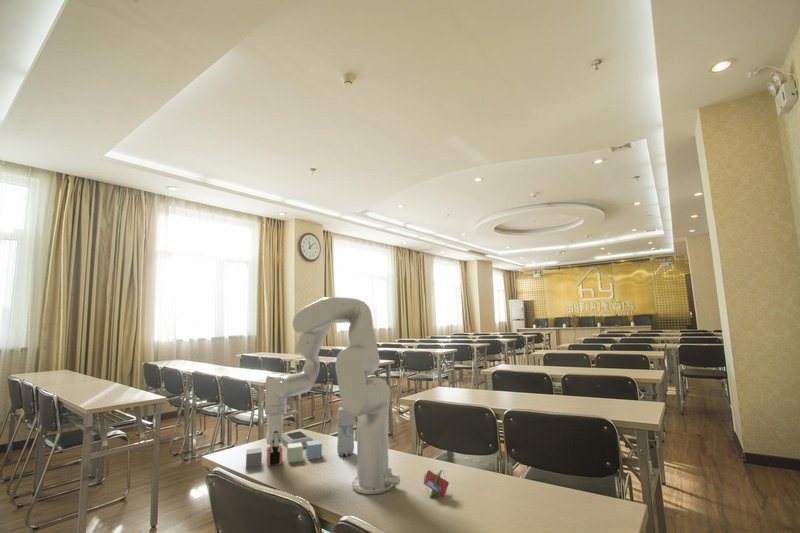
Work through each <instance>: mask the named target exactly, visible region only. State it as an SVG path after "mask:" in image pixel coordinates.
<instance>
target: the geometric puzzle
mask: <svg viewBox="0 0 800 533" xmlns="http://www.w3.org/2000/svg"><path fill="white" fill-rule="evenodd" d="M442 473H443V476H444V478H442V477H441V475H442ZM423 475H424V476H423V477H424V478H423V484H424V486H425V487H426V491H427V493H428V497H430V496H431V495H432V496H431V497H434V495H436V494H439V493H440V494H439V495H441V496H442V495H443V496H442V497H444V496H446V494H447V490H448V487H449V484H450V482H449V481H448V480H447V478H446V477H445V476H446V475H445V473H444V470H443V469H440V470H439V471H438V472H437V473H435V472H433V471H432V470H429V469H428V470H427V471H426V473H425V474H423ZM427 487H428V488H430V489H431V490H432V491H431V493H429V490H428V488H427ZM435 491H436V492H435Z"/></svg>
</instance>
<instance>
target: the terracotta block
mask: <svg viewBox="0 0 800 533" xmlns="http://www.w3.org/2000/svg"><path fill="white" fill-rule="evenodd" d="M282 445H283V444H279V451H280V463H279V464H275V465H281V464H283V446H282ZM270 453H271V446H270V445H268V446H266V466H267V467H269V466H271V465H270ZM275 465H274V466H275Z"/></svg>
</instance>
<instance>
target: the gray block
mask: <svg viewBox="0 0 800 533" xmlns="http://www.w3.org/2000/svg"><path fill="white" fill-rule="evenodd" d="M262 450H263V449H262V447H257V448H248V449H246V454H245V456H246V457H245V470H250V469H249V468H252V469H256V467H258V468H262V462H263V461H262V457H263V456H262V455H263V451H262Z"/></svg>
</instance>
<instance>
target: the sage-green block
mask: <svg viewBox="0 0 800 533" xmlns="http://www.w3.org/2000/svg"><path fill="white" fill-rule="evenodd" d="M303 449H304V448H303V446H302V443H301V442H300V443H292V444H287V447H286V459H287V460H286V461H287V464H290V463H296V462H303V458H304V457H303V453H304V452H303Z"/></svg>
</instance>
